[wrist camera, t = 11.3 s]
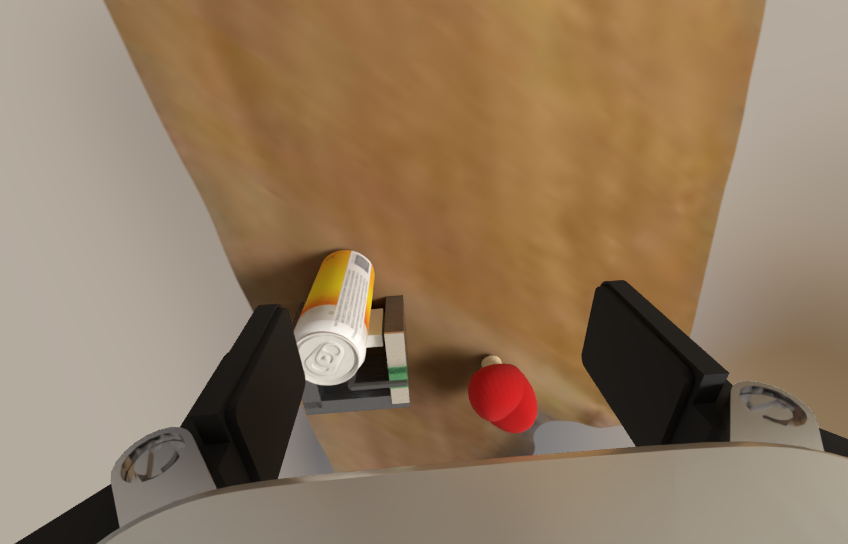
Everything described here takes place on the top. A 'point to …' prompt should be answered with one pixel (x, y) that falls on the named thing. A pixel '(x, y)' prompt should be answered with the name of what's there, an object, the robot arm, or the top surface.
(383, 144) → the top surface
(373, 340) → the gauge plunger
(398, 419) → the top surface
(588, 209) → the top surface
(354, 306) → the beer can
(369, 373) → the gauge frame
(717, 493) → the robot arm
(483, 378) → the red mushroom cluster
